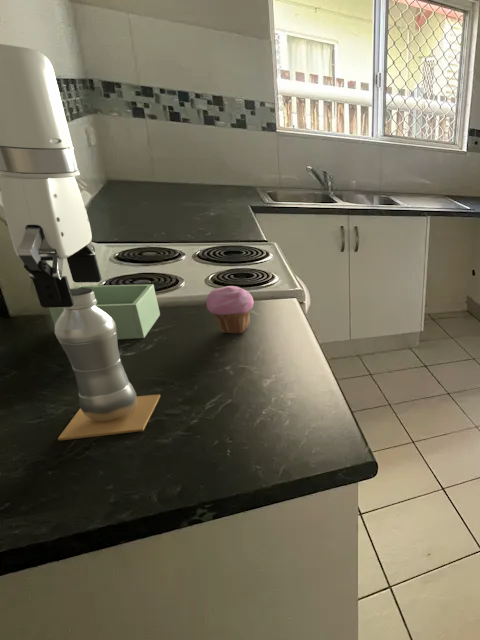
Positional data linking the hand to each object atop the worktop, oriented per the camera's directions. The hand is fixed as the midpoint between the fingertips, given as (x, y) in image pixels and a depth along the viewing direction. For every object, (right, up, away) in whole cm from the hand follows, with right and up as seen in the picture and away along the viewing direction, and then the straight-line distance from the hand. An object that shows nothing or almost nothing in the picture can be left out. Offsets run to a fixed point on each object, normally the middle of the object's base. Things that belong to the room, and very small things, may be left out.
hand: (74, 293), depth 65 cm
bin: (-24, -4, +35) cm, 42 cm away
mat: (-2, -18, +8) cm, 20 cm away
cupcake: (0, -5, +39) cm, 39 cm away
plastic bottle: (-2, -18, +8) cm, 20 cm away
